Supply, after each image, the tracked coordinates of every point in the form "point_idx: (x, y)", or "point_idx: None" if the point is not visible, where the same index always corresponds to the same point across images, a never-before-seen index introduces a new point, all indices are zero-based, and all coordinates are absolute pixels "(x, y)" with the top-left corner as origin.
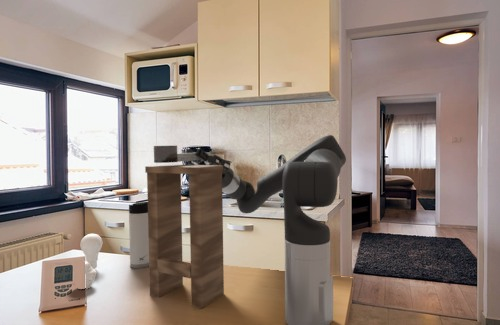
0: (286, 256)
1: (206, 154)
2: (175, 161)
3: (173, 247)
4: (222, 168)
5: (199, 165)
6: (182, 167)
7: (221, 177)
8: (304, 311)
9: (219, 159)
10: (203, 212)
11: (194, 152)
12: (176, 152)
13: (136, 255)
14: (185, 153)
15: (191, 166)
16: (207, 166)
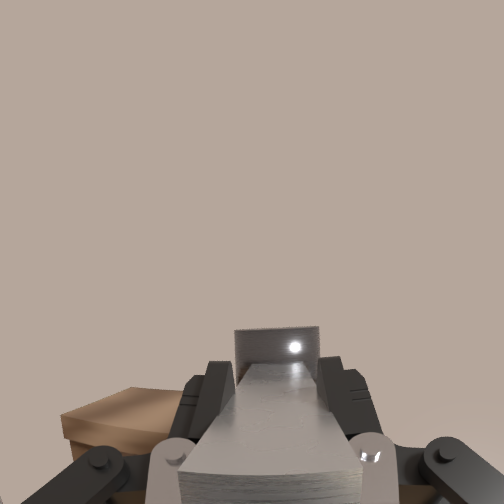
0: (1, 501)
1: (175, 424)
2: (236, 386)
3: None
4: (65, 425)
5: (163, 421)
6: (182, 391)
7: (75, 455)
8: None
9: (65, 499)
10: None
11: (328, 408)
12: (235, 356)
13: None
14: (246, 373)
15: (170, 401)
16: (114, 399)
